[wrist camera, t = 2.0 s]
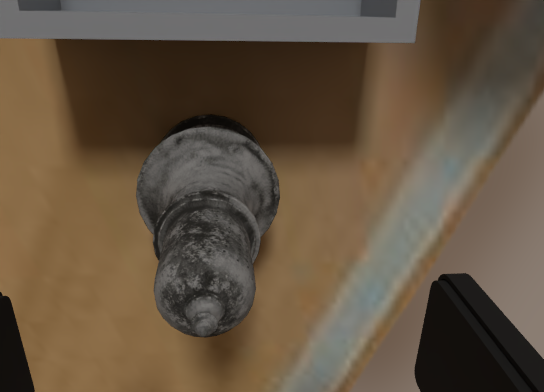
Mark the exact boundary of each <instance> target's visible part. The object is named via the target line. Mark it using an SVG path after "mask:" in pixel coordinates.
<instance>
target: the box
mask: <svg viewBox="0 0 544 392" xmlns="http://www.w3.org/2000/svg"><path fill="white" fill-rule="evenodd" d="M420 1H421V0H0V38H35V39H120V40H205V41H290V42H375V43H415V37H416V30H417V23H418V15H419V8H420Z"/></svg>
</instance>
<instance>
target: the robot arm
mask: <svg viewBox="0 0 544 392" xmlns="http://www.w3.org/2000/svg"><path fill="white" fill-rule="evenodd" d="M415 378H416V382H417V385H418V387H419V389H420V391H421V392H544V359H543V358H542V357H541V356H540V355H539V354H538V352H537V351H536V350H535V349H534V348H533V347H532V345H531V344H530V343H529V342H528V341H527V340H526V339H525V338H524V336H523V335H522V334H521V333H520V332H519V331H518V329H517V328H515V326H514V325H513V324H512V323H511V322H510V320H509V319H508V318H507V317H506V316H505V315H504V314H503V312H502V311H501V310H500V309H499V308H498V307H497V306H496V304H495V303H494V302H493V301H492V300H491V299H490V298H489V297H488V295H487V294H486V293H485V292H484V291H483V290H482V288H481V287H480V286H479V285H478V284H477V283H476V282H475V280H473V278H472V277H471V276H470V275H468V274H466V273H463V274H442V275H440V277H439V278H438V281H434V282H433V283H432V285H431V288H430V294H429V298H428V303H427V309H426V314H425V319H424V324H423V329H422V334H421V339H420V344H419V349H418V354H417V359H416V364H415ZM0 392H35V390H34V385H33V382H32V378H31V374H30V370H29V367H28V363H27V359H26V355H25V352H24V348H23V344H22V341H21V337H20V333H19V329H18V326H17V322H16V318H15V314H14V311H13V307H12V303H11V300H10V298H9V297H7V296H3V295H2V293H1V292H0Z"/></svg>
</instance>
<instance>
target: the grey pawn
mask: <svg viewBox="0 0 544 392" xmlns="http://www.w3.org/2000/svg"><path fill="white" fill-rule="evenodd" d="M136 198H137V202H138V207H139V212H140V215H141V216H142V218H143V220H144V222H145V224H146V226H147V228H148V229H149V230H150V231H151V232H152V233H153V234H154V235H153V245H154V250H155V255H156V257H157V258H158V260H159V264H158V268H157V272H156V277H155V283H154V295H155V300H156V305H157V308H158V310H159V312H160V314H161V315H162V317H163V318H164V319H165V320H166V321H167V322H168V323H169V324H170V325H171V326H172V327H174V328H175V329H177V330H179V331H181V332H182V333H184V334H187V335H191V336H194V337H211V336H217V335H220V334H222V333H225V332H227V331H229V330H230V329H232V328H233V327H235V326H237V325H238V324H239V323H240V322H241V321H242V320H243V319H244V318H245V317H246V316H247V314H248V312H249V311H250V309H251V307H252V304H253V300H254V295H255V290H256V286H255V276H254V269H253V263H254V261H255V259H256V257H257V255H258V252H259V247H260V242H261V240H260V238H261V236H262V235H263V234H264V233H265V232H266V231H267V230H268V229H269V227H270V225H271V223H272V221H273V219H274V217H275V215H276V213H277V209H278V204H279V199H280V193H279V180H278V177H277V175H276V172H275V169H274V167H273V164H272V162H271V161H270V160H269V158H268V157H267V155H266V154H265V153H264V151H263V150H262V149H261V148H260V146H259V143H258V142H257V140H256V139H255V138H254V136H253V135H252V134H251V132H250V131H248V130H247V129H246V128H245V127H243V126H242V125H241V124H240V123H238V122H236V121H233V120H231V119H229V118H227V117H222V116H216V115H203V116H195V117H192V118H190V119H187V120H184V121H182V122H180V123H179V124H178V125H176V126H175V127H174V128H172V129H171V130H170V131H169V132H168V133H167V135H166V136H165V137H164V139H163V140H162V141H161V143H160V144H159V145H157V146H156V147H155V148H154V150H153V151H152V152H151V154H150V155H149V156H148V157H147V159H146V160H145V161H144V164H143V166H142V169H141V171H140V174H139V176H138V179H137V192H136Z"/></svg>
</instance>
